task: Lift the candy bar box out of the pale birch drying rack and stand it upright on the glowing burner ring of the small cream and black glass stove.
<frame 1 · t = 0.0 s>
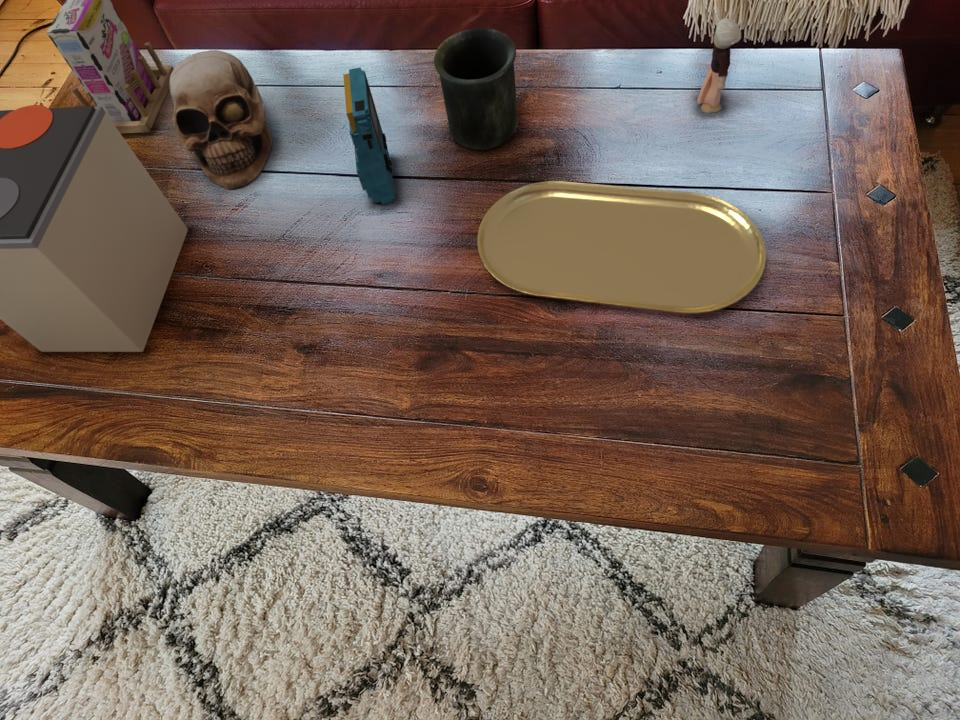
grandmother figurine: (709, 106, 97), on the table
serving platter: (615, 251, 86), on the table
tan skull: (236, 144, 104), on the table
handheld gaming console: (381, 183, 96), on the table
rack: (135, 103, 112), on the table
stove: (15, 177, 74), on the table
mug: (485, 120, 101), on the table
candy bar box: (136, 104, 112), resting in rack
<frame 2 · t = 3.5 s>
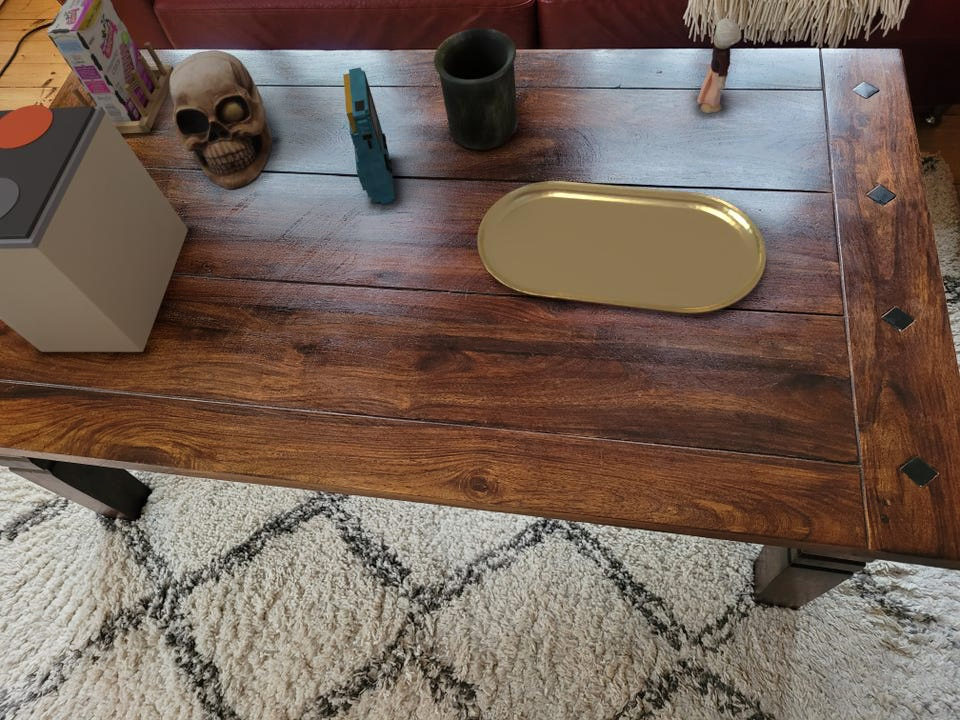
nothing on the table moved.
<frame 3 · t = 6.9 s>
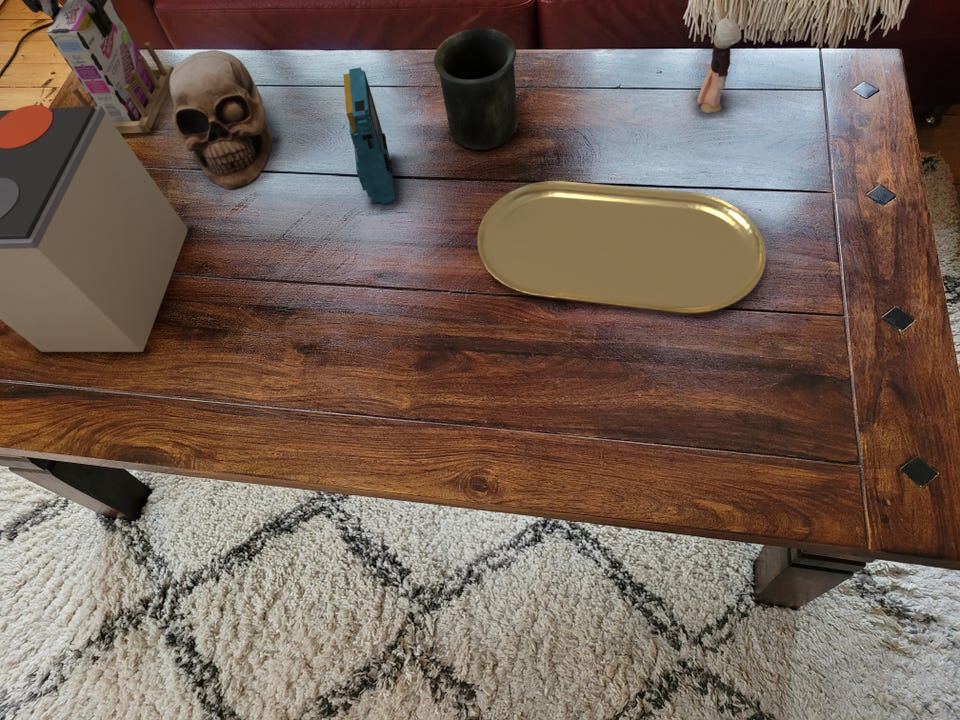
hand: (90, 33, 101), 12 cm above the table, tool pointing down, fingers closed on candy bar box, 5 cm apart
candy bar box: (136, 104, 112), resting in rack, touching gripper
everything else where it was.
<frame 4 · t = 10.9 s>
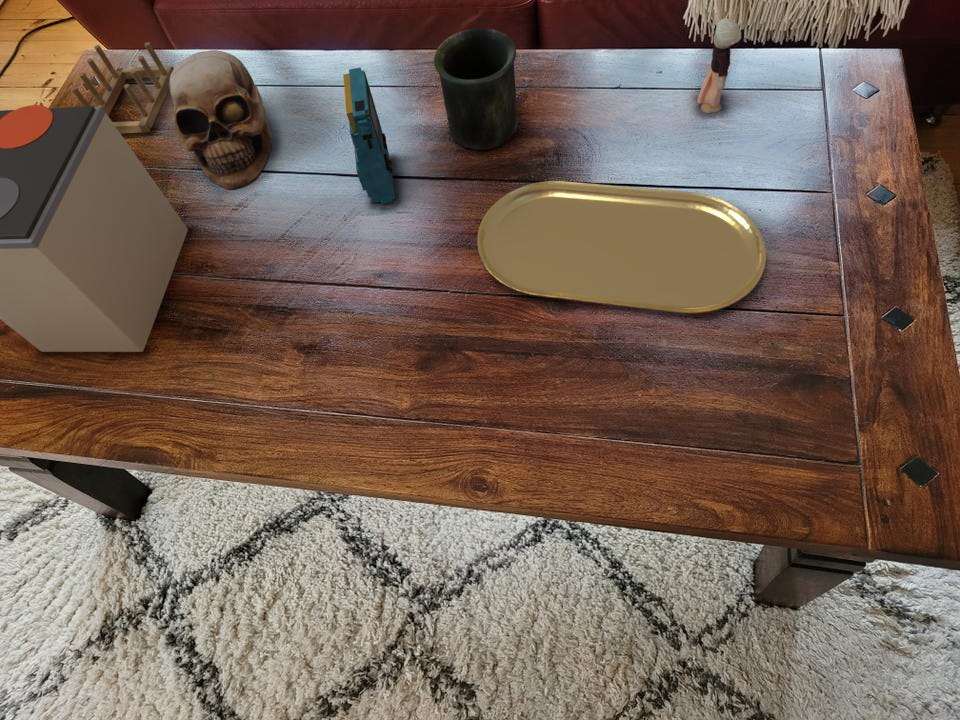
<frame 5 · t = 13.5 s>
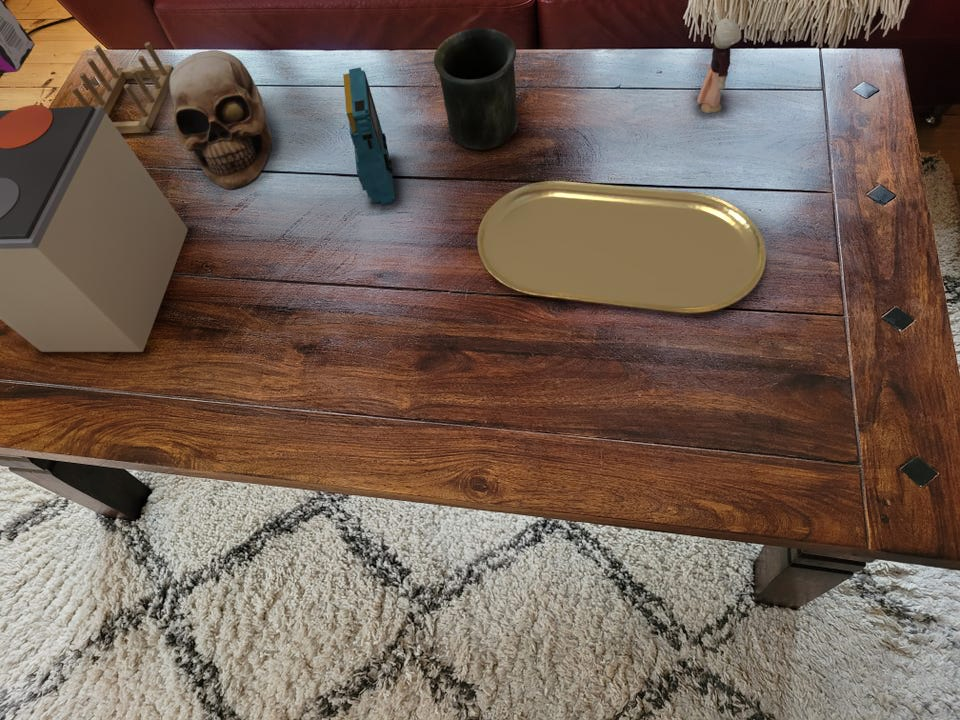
when the fingers open (34 cm above the table, at t = 15.3 s): candy bar box stays where it is, resting on stove.
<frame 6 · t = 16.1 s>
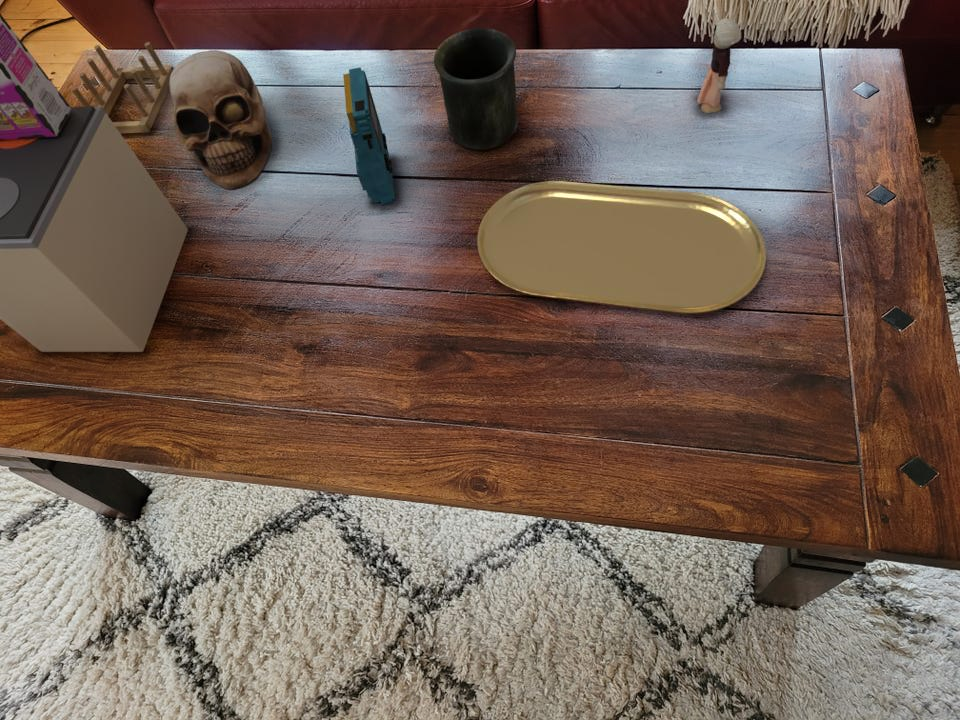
candy bar box: (22, 127, 77), point 21 cm above the table, touching stove
everything else where it was.
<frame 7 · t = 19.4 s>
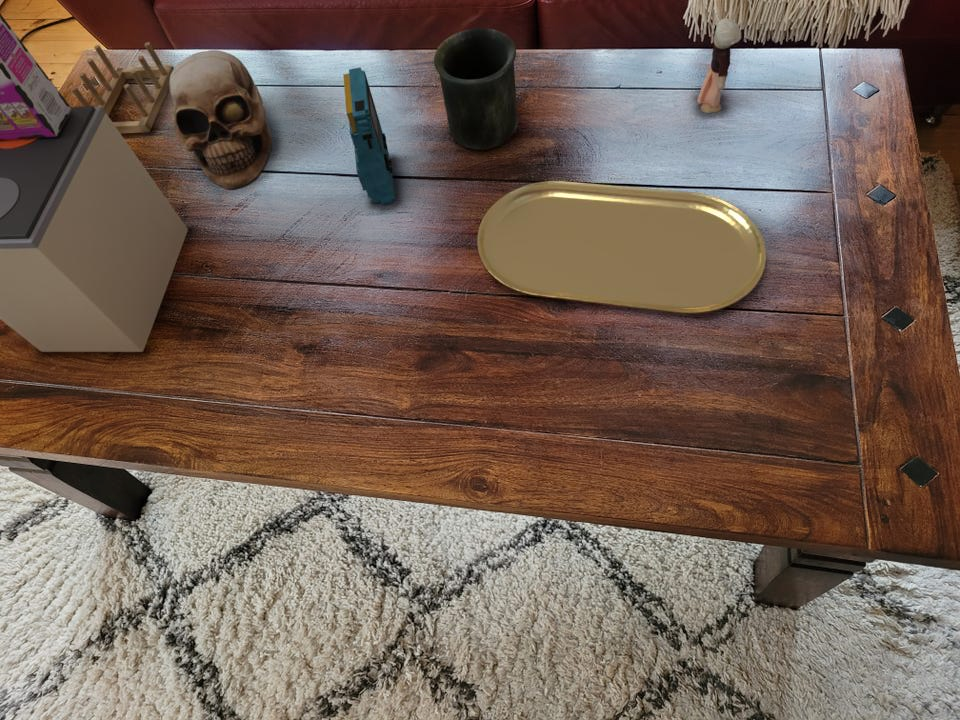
nothing on the table moved.
at the end: candy bar box inside the target area on the stove (0.1 cm from its centre), point 1.3 cm above the stove's base; candy bar box tilted 0°; the gripper is holding nothing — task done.
